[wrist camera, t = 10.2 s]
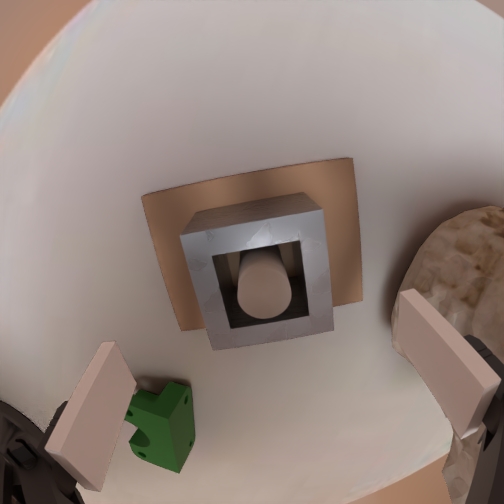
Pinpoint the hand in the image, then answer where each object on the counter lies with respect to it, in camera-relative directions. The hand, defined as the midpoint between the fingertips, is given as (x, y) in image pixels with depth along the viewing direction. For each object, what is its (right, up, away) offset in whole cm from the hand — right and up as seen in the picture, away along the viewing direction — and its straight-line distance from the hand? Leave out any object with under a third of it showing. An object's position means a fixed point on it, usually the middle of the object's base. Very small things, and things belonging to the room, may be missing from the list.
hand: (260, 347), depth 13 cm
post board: (0, +4, +12) cm, 12 cm away
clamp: (-11, -14, +18) cm, 25 cm away
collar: (0, +4, +11) cm, 11 cm away
